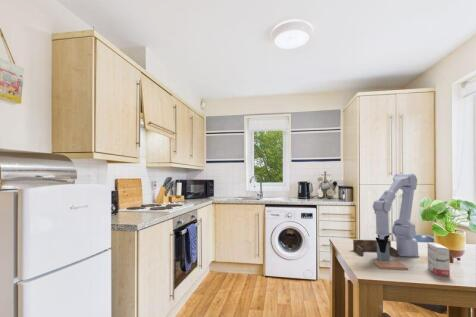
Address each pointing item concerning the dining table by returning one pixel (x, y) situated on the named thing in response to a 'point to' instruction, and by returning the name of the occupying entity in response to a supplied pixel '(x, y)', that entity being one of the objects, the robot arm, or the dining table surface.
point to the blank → (383, 254)
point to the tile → (390, 265)
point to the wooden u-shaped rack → (370, 246)
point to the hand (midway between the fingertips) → (383, 250)
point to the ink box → (438, 259)
